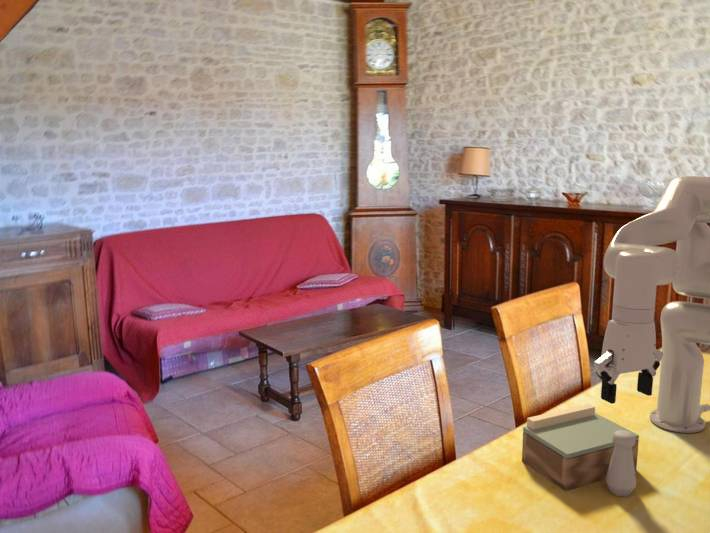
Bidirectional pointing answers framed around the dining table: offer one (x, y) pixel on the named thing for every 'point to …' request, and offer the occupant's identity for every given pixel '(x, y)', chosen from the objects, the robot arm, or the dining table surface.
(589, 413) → the lid
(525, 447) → the toolbox
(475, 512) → the dining table surface
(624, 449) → the salt shaker
